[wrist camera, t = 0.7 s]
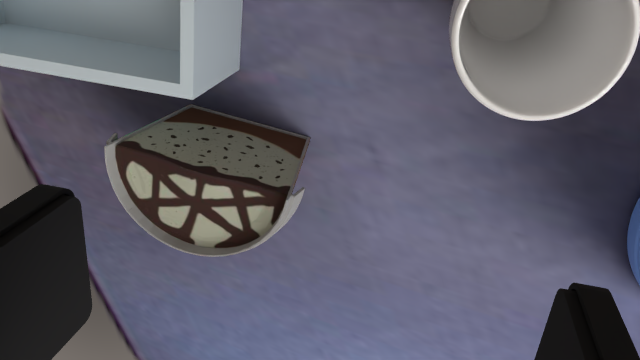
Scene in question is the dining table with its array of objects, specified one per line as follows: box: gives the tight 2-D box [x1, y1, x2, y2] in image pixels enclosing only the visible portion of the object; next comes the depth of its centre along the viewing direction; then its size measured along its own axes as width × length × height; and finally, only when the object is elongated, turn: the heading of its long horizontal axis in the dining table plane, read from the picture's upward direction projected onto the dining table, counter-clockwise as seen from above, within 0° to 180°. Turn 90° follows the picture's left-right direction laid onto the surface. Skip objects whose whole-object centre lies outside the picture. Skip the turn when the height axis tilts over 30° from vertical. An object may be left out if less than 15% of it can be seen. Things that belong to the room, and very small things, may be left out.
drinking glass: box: [449, 0, 640, 121], centre depth 27 cm, size 7×7×15 cm
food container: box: [104, 104, 310, 257], centre depth 38 cm, size 12×6×10 cm, turn 78°
